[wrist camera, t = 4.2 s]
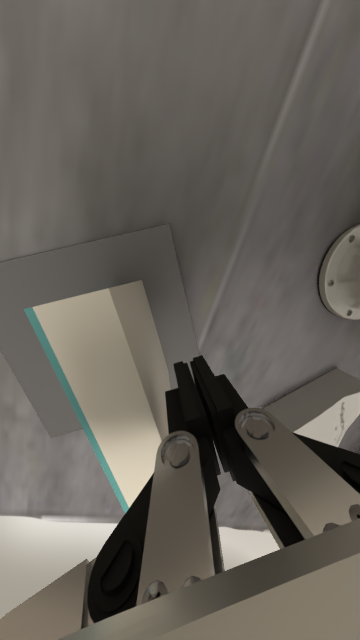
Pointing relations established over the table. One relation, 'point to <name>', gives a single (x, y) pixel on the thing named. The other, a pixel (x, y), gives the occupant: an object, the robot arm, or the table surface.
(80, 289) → the mat
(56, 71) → the table surface
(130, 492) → the tile
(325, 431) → the ramp
